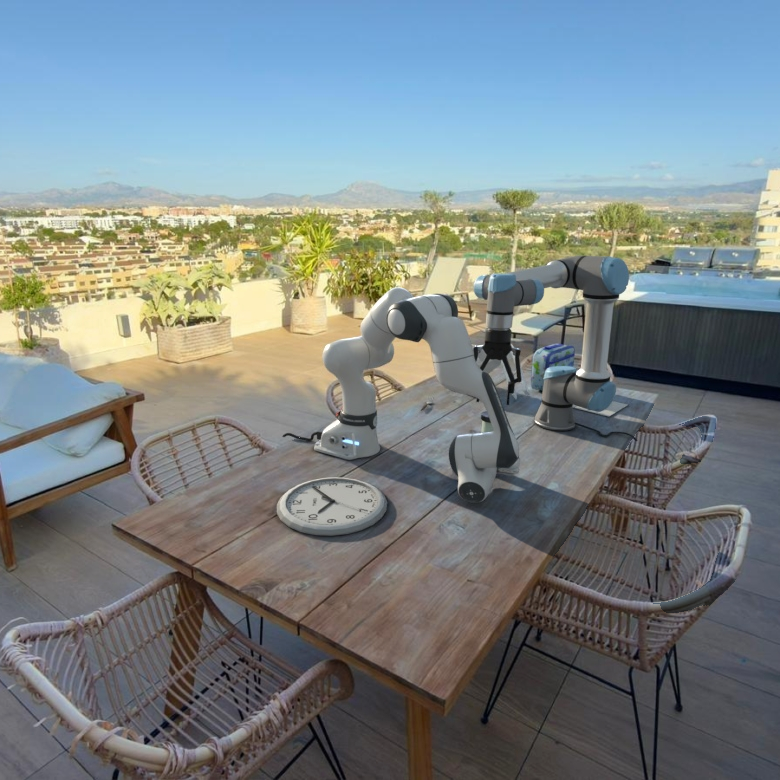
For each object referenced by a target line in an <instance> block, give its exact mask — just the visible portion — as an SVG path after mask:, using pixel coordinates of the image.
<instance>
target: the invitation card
mask: <svg viewBox="0 0 780 780" xmlns="http://www.w3.org/2000/svg"><path fill="white" fill-rule="evenodd" d="M628 406H629V404H627V403H623V402H618V401H614V400H613V401H612V403H611V404H610V405H609V407H608V408H606V409H605V410H604V411H601V412H596V411H592V410H588V409H585V408H582V407H579V406H576V405H575V406H574V407H573V409H575V410H581V411H584V412H587V413H593V414H596V415H600V416H604V417H608V418H609V417H611V416H613V415H614V414H616V413H617V412H619V411H621V410H623V409H624V408H626V407H628Z"/></svg>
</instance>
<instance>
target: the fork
mask: <svg viewBox="0 0 780 780" xmlns="http://www.w3.org/2000/svg"><path fill="white" fill-rule="evenodd" d="M434 399H435V396H429V397H428V398H427V399H426V403H425V404H424V405H423V406H422V407H421V409H420V411H423V410H424V409H426V408H427V407H428V405H430V404H433V402H434Z"/></svg>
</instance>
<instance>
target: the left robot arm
mask: <svg viewBox="0 0 780 780" xmlns="http://www.w3.org/2000/svg"><path fill="white" fill-rule="evenodd" d="M457 304H458V303H457V302H456V301H455V299H454V298H453V297H452V296H450V295H449V294H444V293H432V294H424V295H423V294H422V295H419V296H415V297H414V295H413V294H412V293H411V292H410V291H409V290H407V289H405V288H404V287H393V288H391V289H389V290H388V291H386V292H385V293H384V294H383V295H382V296H381V297H380V298H379V299H378V300H377V301H376V302H375V303H374V305H373V306H372V307H371V309H370V310H369V311H368V313H367V314H366V315H365V316H364V318H363V319H362V320H361V322H360V335H358V336H355V337H348V338H347V337H346V338H341V339H337V340H335V341H331V342H330V343H327V344H326V345H325V347H324V348H323V351H322V356H321V357H322V363H323V365H324V368H325V369H326V370H327V372H329V373H330V374H332V375H333V376H334V377H335V378H336V379H337V381H338V383H339V385H340V389H341V399H342V406H341V407H340V409H338V411H337V412H336V413H335V418H336V420H334V421H333V422H331V423H330V424H328V425H327V426H322V427H321V428H319V429H318V430H317V431H314V432H312V433H311V434H310V438H308V437H304V436H300V435H296V434H294V433H291V432H286V433H284V434H282V435H281V437H282V438H286V437H287V436H289V437H292V438H294V439H296V440H301V441H306V442H312V441H313V440H314V439H315V436H316V440H317V441H316V442H315V443H314V447H313V449H314V451H315V452H318V453H322V454H325V455H330V456H332V457H337V458H340V459H344V460H347V461H352V460H356V459H359V458H367V457H372V456H374V455H377V454H378V453H379V452H380V450H381V446H380V443H379V439H378V433H377V426H378V425H377V424H378V410H377V406H376V405H377V390H376V387H375V386H374V385H373V384H372V383H371V382H370V381H368V380H366V379H365V377H364V372H365V371H367V370H372V369H378V368H381V367H384V366H385V365H387V364H389V363H391V362H392V360H393V358H394V355H395V346H394V343H393V342H394V340H395V339H399V340H403V341H410V342H414V343H419V342H421V341H422V340H424V341H425V342H426V343H427V344H428V346H429V349H430V353H431V359H432V360H431V361H432V366H433V370H434V374H435V376H436V379H437V381H438V382H439V384H440V385H442V387H444V388H445V389H448V390H449V391H452V392H455V393H459V394H464V395H468V396H471V397H474V398H476V399H477V398H478V399H479V402H481V403H482V404H483V406H484V407H485V411H487V413H488V416H489V418H490V421H491V424H492V427H493V429H494V431H492V432H484V433H482V432H473V433H464V434H463V433H462V434H457V435H456V436H454V437H453V439H452V441H451V442H450V445H449V448H448V460H449V465H450V468H451V470H452V471H451V472H452V474H453V475H455V476H457V479H458V480H457V481H458V482H457V493H458V495H459V497H460V498H461V499H462V500H463V501H465V502H467V503H469V504H479V503H481V502H483V501H484V500H486V498H487V497H488V496H489V495H490V492H491V491H492V487H493V485H494V481H495V479H496V476H497V474H498V475H505V476H515V475H516V474H519V472H520V466H521V457H520V446H519V442H518V440H517V438H516V435H515V433H514V432H513V429H512V427H511V424H510V421H509V419H508V416H507V413H506V411H505V407H504V405H503V402H502V399H501V397H500V394H499V391H498V390H497V387H496V384H495V382H494V380H493V378H492V376H491V375H490V373H489V374H488V373H486V372H483V371H482V370H481V369H480V368H479V366H478V365H477V363H476V361H475V358H474V353H473V348H472V347H473V346H472V345H473V344H472V341H471V337H470V334H469V331H468V329H467V327H466V324H465V322H464V320H462V319H461V318H459V308H458V305H457ZM299 437H300V438H299Z"/></svg>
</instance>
